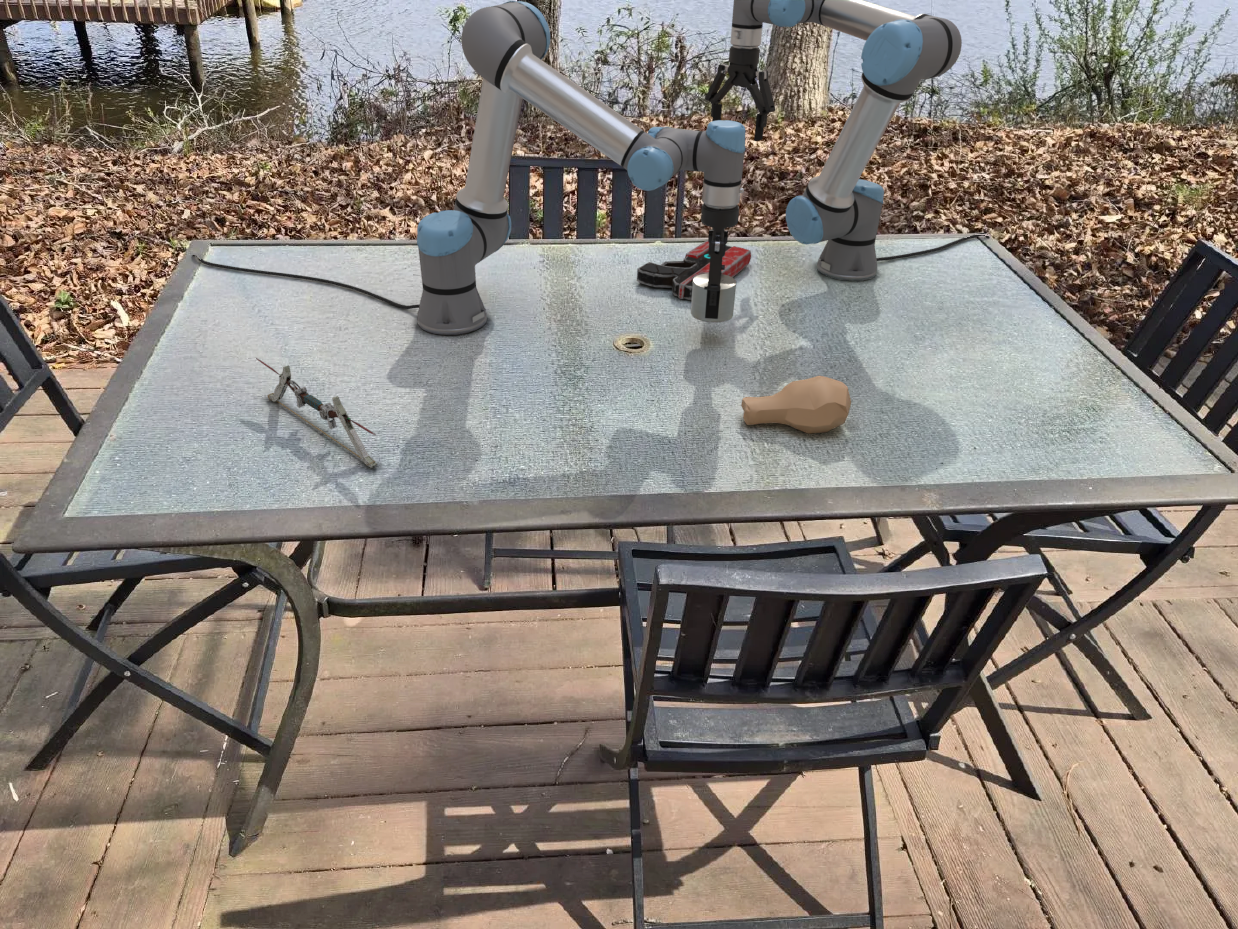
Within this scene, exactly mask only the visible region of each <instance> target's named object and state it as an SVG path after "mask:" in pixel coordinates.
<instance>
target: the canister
mask: <svg viewBox="0 0 1238 929" xmlns="http://www.w3.org/2000/svg"><path fill="white" fill-rule="evenodd" d="M708 281H709V273H706V274H700V275H698V276H696V277H694V279H693V286H692V300H690V301H691V302H690V303H691V304H690V314H691V317H693V318H694V319H696V320H697V321H700V322H704V323H710V324H711V323H714V324H715V323H718V324H719V323H724V322H727V321H730V320H732V318H733V317H734V311H735V310H734V309H735V301H736V300H735V299H736V289H737V280H736V279H735V278H734V277H733V278H732V277H730V276H728V275H724V274H721V281H720V286H721V289H720V300H719V311H718V319H710V318H705V311H706V298H707V290H704V286H708Z"/></svg>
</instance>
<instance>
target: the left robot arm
mask: <svg viewBox="0 0 1238 929" xmlns="http://www.w3.org/2000/svg"><path fill="white" fill-rule="evenodd" d="M550 45H551V30H550V26H549V24H548V21H547V20H546V18H545V16H544V14H543V13H542V12H541V11H540V9H538V8H537V7H536V6H535V5H533V4H531V3H529V2H527V1H521V0H518V1H516V0H508V1H506V2H503V3H501V4H495V5H492V6H485V7H481V8H479V9H477V10H475V11H474V12H473V13H472V14H471V15H470V16H468V18H467V20H465V23H464V25H463V28H462V31H461V47H462V52H463V55H464V57H465V59H466V61H467V63H468V64H469V65H470V67H471V68H472V69H473V70H474V71H475V72H476V73H477V74H478V75H479V76H480V77H481V78H482V83H481V89H480V96H479V101H478V108H477V113H476V119H475V123H474V124H475V125H474V130H473V138H472V143H471V149H470V155H469V160H468V167H467V173H466V179H465V185H464V187H463V188H461V189H460V190H458V191H457V192H456V195H455V202H454V208H453V209H445V210H439V211H438V212H432V213H429V214H427V215H425V216H424V217H422V219H421V220H420V221H419V222H418V223H417V224H418V225H417V228H416V233H417V236H416V244H417V247H418V258H419V267H420V275H421V276H420V278H421V284H422V292H421V297H420V302H419V304H411V305H405V304H401V303H398V302H395V301H393V300H391V299H389V298H386V297H383V296H381V295H379V294H376V293H374V292H371V291H368V290H367V289H362V288H361V287H357V286H353V285H349V284H346V283H343V282H339V281H334V280H329V279H324V278H321V277H320V278H319V277H313V276H307V275H300V274H293V273H284V272H277V271H268V270H259V269H253V268H246V267H238V266H232V265H227V264H226V265H225V264H220V263H214V262H209V261H206V260H204V259H203V258H202V260H200V259H198V258H197V260H198V261H199V262H200V263H202V264H204V265H206V266H209V267H214V268H220V269H225V270H232V271H239V272H246V273H251V274H261V275H269V276H278V277H284V278H292V279H299V280H307V281H313V282H319V283H323V284H329V285H332V286H338V287H342V288H345V289H349V290H353V291H355V292H359V293H362V294H365V295H368V296H370V297H372V298H374V299H378V300H379V301H383V302H384V303H387V304H389V305H392V306H393V307H397V308H400V309H402V310H403V309H404V310H412V309H418V310H417V317H416V318H417V325H418V326H419V328H420V329H421V330H423V331H424V332H427V333H430V334H433V335H440V336H459V335H465V334H469V333H473V332H476V331H477V330H480V329H481V328H483V327H484V326H485V325H486V323H487V320H488V316H487V310H486V306H485V304H484V302H483V299H482V298H481V295H480V293H479V291H478V288H477V278H476V277H477V276H476V265H478V264H479V263H481V262H482V261H484V260H486V259H487V258H488V257H490V256H491V255H493V254H494V253H496V252H498V251H499V250H500V249H502V248H503V246H504V245H505V244H506V243H507V241H508V239H509V237H510V235H511V231H512V220H511V215H509V213H508V212H509V202H508V201H507V200H506V198H505V197H504V196H505V191H506V186H507V182H508V175H509V171H510V165H511V160H512V156H513V155H512V154H513V150H514V145H515V140H516V134H517V131H518V130H517V129H518V125H519V119H520V114H521V110H522V105H523V100H524V101H526V102H527V103H528V104H530V105H531V106H533V107H534V108H535V109H537V110H539V111H540V112H541V113H542V114H544V115H546V116H547V117H549V118H550V119H551V120H553V121H554V122H556V123H558V124H559V125H560V126H562V127H564V128H565V129H566V130H568V131H569V132H571V133H572V134H574V135H575V136H576V137H578V138H579V139H581V140H582V141H584V142H585V143H587V144H588V145H590V146H591V147H593V148H594V149H596V150H597V151H598V152H600V153H601V154H603V155H604V156H606V157H607V158H608V159H610V160H611V161H613V162H614V163H616V164H617V165H619V166H620V167H622V168H623V169H625V170H626V171H627V175H628V178H629V180H630V181H631V183H632V185H634V186H635V187H636V188H637V189H639V190H642V191H649V192H650V191H654V190H656V189H659V188H661V187H663V186H664V185H666V184H667V183H668V182H669V181H671V179H672V178H673V177H674V176H675V175H677V174H678V173H679V172H680V171H688V172H689V171H690V172H699V173H700V172H701V173H703V180H702V192H701V193H702V194H701V201H702V204H701V213H700V215H701V216H700V222H701V223H702V224H703V225H704V226H706V227H710V228H712V229H708V238H707V240H708V242H709V251H708V255H709V256H710V266H709V267H710V268H709V281H708V286H704V290H707V298H706V311H705V318H710V319H718V311H719V300H720V289H721V286H720V281H721V274H722V271H721V270H725V265H722V258H723V257H724V256H725V249H726V245H728V241H729V240H728V239H729V238H728V237H729V230H725V229H729V228H730V229H731V228H733V227H736V226H737V224H738V223H739V216H740V215H739V214H740V206H739V204H740V202H741V194H743V193H745V189H744V188H743V187H742V181H743V180H742V179H743V171H744V160H745V153H746V127H745V125H744V124H743V123H741V122H739V121H735V120H727V119H726V120H722V119H721V120H717V121H712V120H711V121H709V123H708V124H707V126H706V130H696V129H695V130H694V129H686V128H677V127H670V126H652V127H651V128H649V130H648V131H647V132H646V131H645V130H643V129H642V128H641V127H639V126H638V125H637V124H634V123H633V122H632V121H631V120H629V119H628V118H626V117H625V116H623V115H622V114H620V113H619V112H617V111H616V110H614V109H613V108H612V107H610V106H609V105H607V104H606V103H604V102H603V101H601V99H599V98H597V97H595V96H594V95H593V94H592V93H590V92H588V91H587V90H586V89H584V88H582V87H581V86H580V85H578V84H577V83H576V82H574V81H573V80H571V79H570V78H568V77H567V76H566V75H564V74H563V73H561V72H559V71H558V70H557V69H556V68H554V67H553V66H551V65H550V64H548V63H547V62H545V61H543V59H544V58H545V56H546V55H547V53H548V52H549V49H550Z"/></svg>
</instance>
